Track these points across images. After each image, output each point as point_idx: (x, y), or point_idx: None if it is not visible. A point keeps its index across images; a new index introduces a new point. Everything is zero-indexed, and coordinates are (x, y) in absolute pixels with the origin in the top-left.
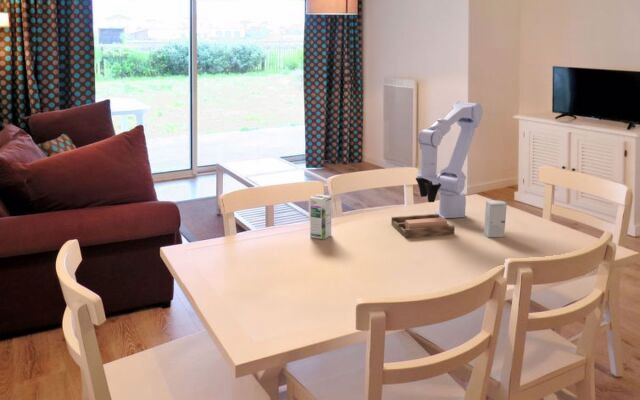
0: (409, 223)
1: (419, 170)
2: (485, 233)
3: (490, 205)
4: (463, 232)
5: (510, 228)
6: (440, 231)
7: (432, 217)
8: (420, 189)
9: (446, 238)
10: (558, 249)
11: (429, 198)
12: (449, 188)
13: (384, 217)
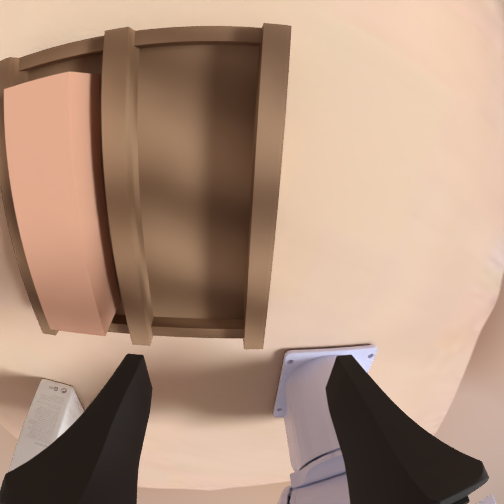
0: (4, 91)
1: None
2: (57, 387)
3: (9, 468)
4: (84, 346)
5: None
6: None
7: (245, 308)
8: (367, 408)
9: (11, 257)
10: (8, 425)
11: (113, 384)
12: (317, 495)
13: (430, 77)
